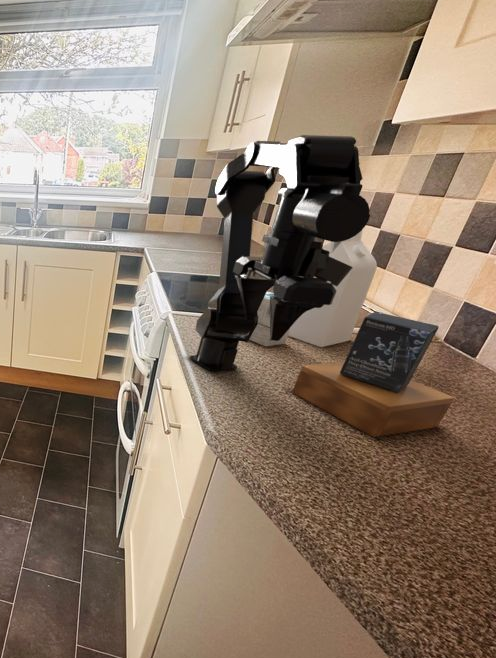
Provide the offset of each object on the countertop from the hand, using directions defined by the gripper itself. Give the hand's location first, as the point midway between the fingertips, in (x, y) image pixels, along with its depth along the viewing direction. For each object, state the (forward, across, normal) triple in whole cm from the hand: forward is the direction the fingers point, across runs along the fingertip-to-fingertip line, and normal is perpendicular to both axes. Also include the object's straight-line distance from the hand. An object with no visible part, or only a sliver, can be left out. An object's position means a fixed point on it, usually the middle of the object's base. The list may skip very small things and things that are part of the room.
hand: (261, 329), depth 68 cm
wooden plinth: (+13, +1, -20) cm, 24 cm away
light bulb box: (+13, +33, -16) cm, 39 cm away
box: (+8, +1, -20) cm, 22 cm away
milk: (+13, +38, -32) cm, 51 cm away
